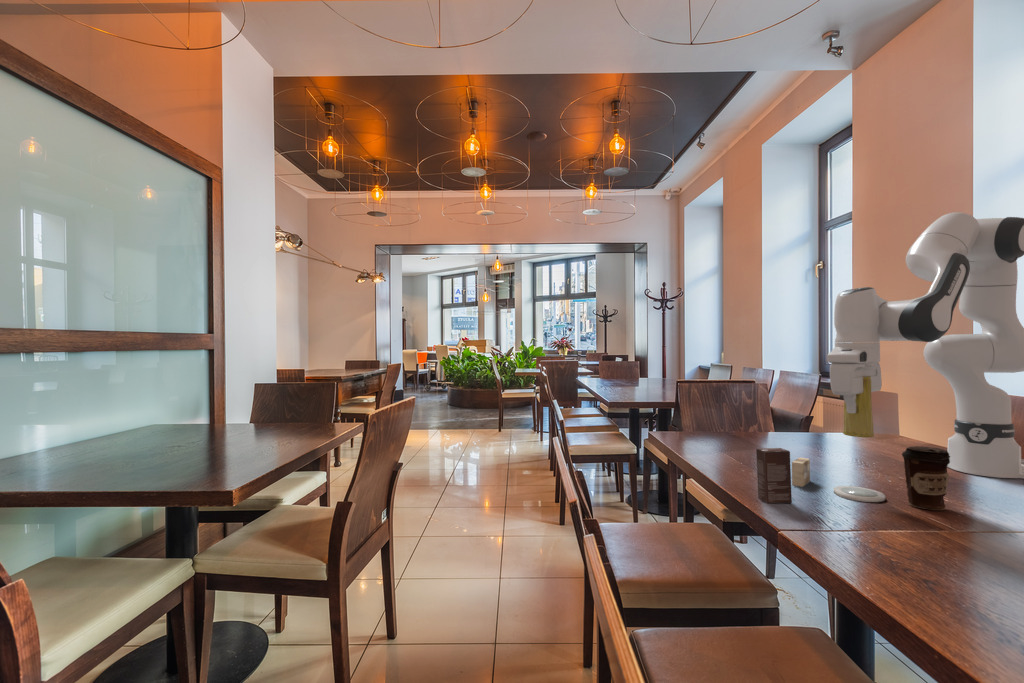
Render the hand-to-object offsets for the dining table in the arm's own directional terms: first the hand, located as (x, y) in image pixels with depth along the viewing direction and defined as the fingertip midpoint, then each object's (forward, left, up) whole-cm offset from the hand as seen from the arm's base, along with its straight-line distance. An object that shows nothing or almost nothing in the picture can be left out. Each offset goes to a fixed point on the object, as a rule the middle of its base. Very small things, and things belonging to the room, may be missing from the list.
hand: (858, 411), depth 114 cm
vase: (0, 0, -6) cm, 6 cm away
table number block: (0, -13, -20) cm, 24 cm away
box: (+20, -10, -20) cm, 30 cm away
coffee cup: (-3, +12, -20) cm, 24 cm away
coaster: (0, 0, -20) cm, 20 cm away
